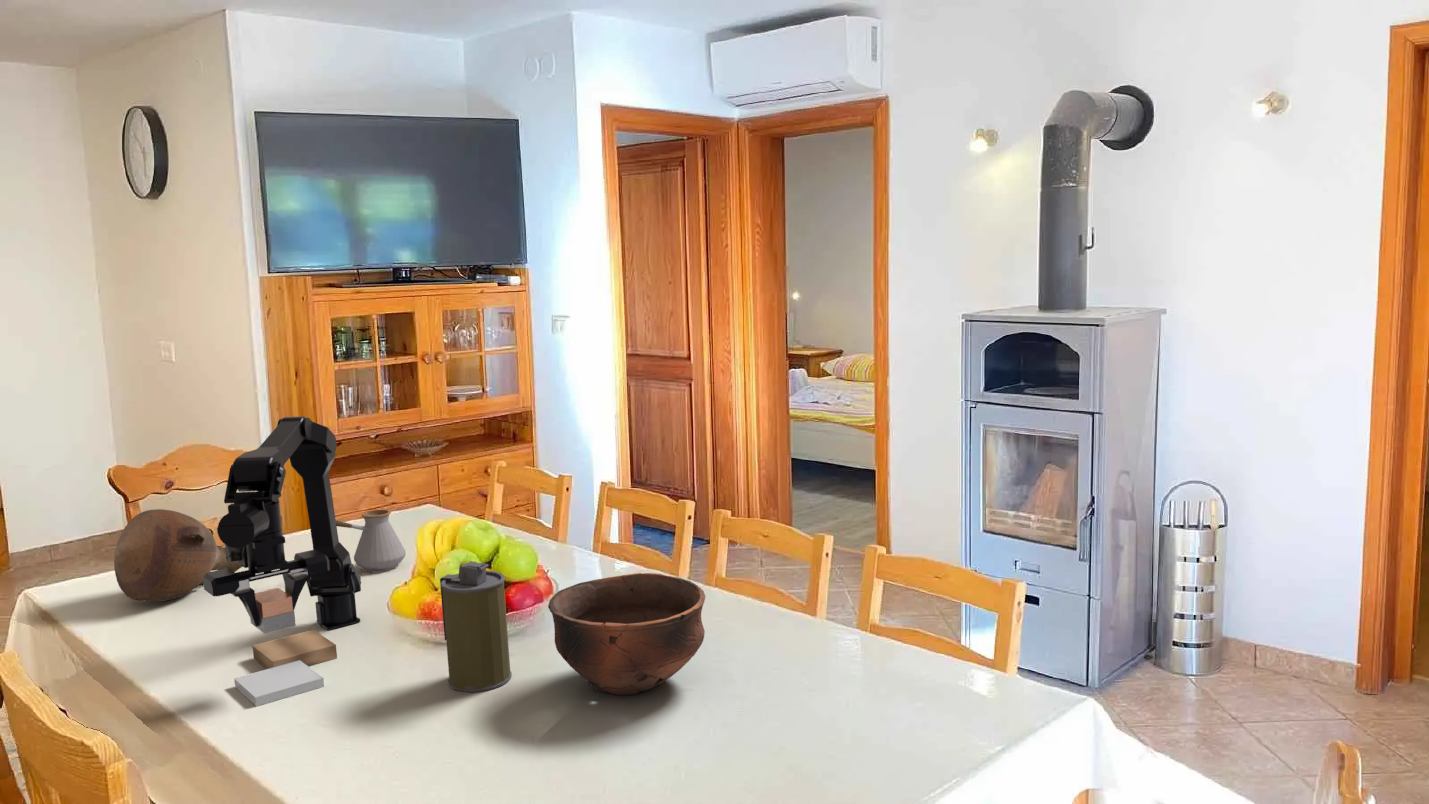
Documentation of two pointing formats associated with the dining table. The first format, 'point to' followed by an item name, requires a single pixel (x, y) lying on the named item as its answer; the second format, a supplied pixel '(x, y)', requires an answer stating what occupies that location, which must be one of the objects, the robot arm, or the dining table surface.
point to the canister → (475, 628)
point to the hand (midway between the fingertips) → (272, 621)
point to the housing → (274, 610)
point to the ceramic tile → (278, 682)
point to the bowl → (628, 629)
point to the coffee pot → (377, 542)
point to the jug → (165, 555)
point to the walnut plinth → (295, 650)
